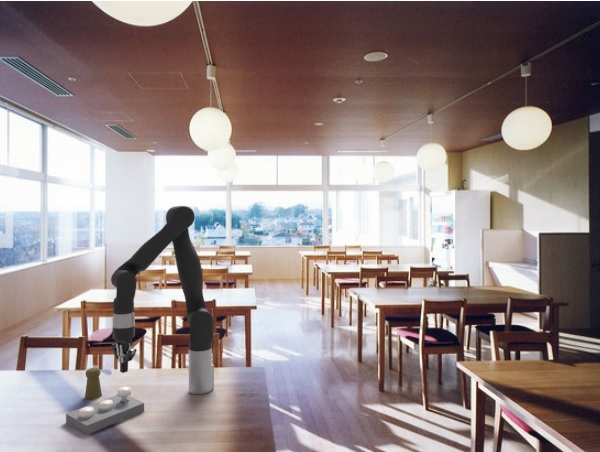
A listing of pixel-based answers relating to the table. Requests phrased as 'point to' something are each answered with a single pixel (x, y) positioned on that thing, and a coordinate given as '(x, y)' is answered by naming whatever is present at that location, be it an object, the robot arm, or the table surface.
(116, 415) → the control board
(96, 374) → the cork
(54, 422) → the table surface
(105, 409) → the knob middle
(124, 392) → the knob
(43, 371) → the table surface
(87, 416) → the knob
